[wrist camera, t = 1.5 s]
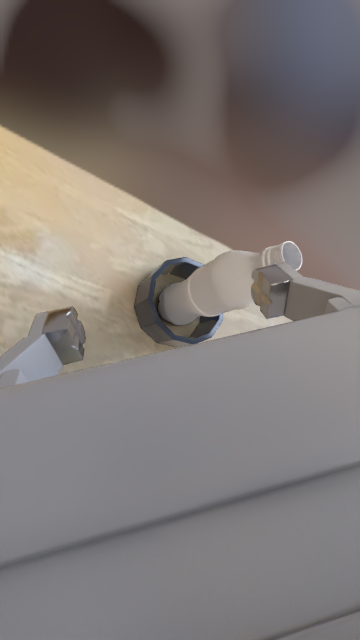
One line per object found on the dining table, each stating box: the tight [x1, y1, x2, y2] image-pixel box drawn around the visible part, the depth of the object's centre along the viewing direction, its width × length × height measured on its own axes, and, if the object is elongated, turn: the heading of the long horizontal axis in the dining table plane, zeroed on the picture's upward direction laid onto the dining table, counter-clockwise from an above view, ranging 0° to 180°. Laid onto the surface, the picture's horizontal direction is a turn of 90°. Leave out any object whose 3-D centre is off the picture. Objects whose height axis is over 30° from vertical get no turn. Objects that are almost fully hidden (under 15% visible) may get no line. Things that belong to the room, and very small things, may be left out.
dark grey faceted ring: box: [134, 257, 223, 347], centre depth 44 cm, size 14×14×6 cm
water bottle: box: [158, 241, 302, 325], centre depth 36 cm, size 7×7×25 cm
